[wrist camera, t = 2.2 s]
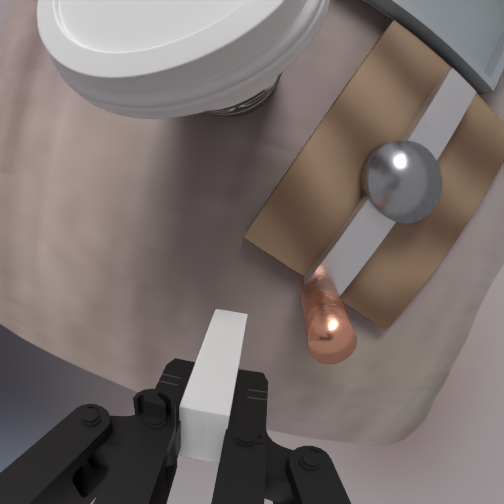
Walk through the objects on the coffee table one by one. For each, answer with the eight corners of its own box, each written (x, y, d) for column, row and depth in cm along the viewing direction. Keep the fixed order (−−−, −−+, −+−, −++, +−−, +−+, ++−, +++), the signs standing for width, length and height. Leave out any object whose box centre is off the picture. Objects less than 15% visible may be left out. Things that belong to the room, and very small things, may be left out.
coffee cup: (323, 45, 18) (386, -91, 4) (263, 160, 21) (237, 175, 7) (202, 0, 17) (121, -130, 3) (143, 109, 20) (-19, 75, 6)
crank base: (387, 26, 17) (393, 19, 16) (504, 137, 18) (514, 138, 17) (245, 231, 23) (243, 237, 21) (381, 321, 24) (386, 330, 22)
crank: (430, 58, 16) (484, 30, 9) (479, 106, 16) (541, 98, 10) (277, 281, 21) (276, 338, 15) (334, 317, 22) (353, 379, 15)
